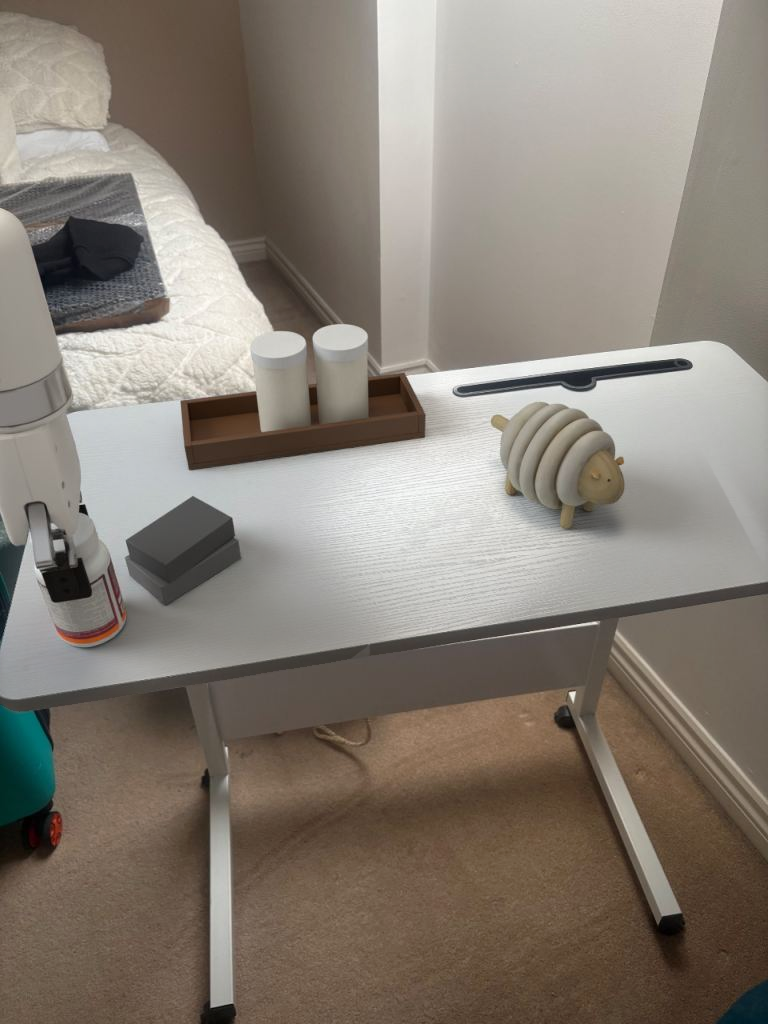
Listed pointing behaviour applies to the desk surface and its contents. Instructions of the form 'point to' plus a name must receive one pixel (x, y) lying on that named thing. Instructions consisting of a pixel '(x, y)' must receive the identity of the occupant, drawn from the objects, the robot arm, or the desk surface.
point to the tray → (238, 438)
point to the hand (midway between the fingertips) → (74, 568)
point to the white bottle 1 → (281, 380)
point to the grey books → (182, 549)
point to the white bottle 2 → (341, 373)
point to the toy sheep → (559, 459)
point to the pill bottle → (105, 607)
